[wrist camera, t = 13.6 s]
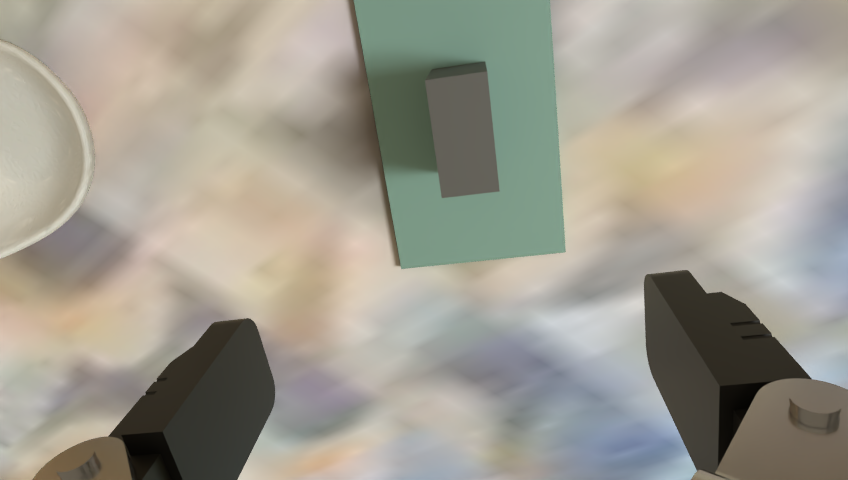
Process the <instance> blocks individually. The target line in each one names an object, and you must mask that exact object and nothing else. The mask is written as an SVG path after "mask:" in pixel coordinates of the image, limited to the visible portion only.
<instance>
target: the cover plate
mask: <svg viewBox="0 0 848 480" xmlns="http://www.w3.org/2000/svg"><path fill="white" fill-rule="evenodd" d="M354 5H355V11H356V16H357V22H358V27H359V33H360V39H361V44H362V50H363V56H364V61H365V67H366V73H367V78H368V84H369V89H370V95H371V101H372V106H373V112H374V118H375V123H376V129H377V135H378V140H379V146H380V151H381V157H382V163H383V168H384V174H385V180H386V185H387V191H388V197H389V202H390V208H391V213H392V219H393V225H394V230H395V236H396V242H397V247H398V253H399V259H400V264H401V269H405V268H415V267H425V266H435V265H445V264H455V263H465V262H474V261H484V260H494V259H504V258H514V257H524V256H534V255H543V254H553V253H563V252H566V251H565V235H564V219H563V203H562V187H561V171H560V155H559V139H558V123H557V107H556V91H555V75H554V59H553V43H552V27H551V11H550V0H354Z"/></svg>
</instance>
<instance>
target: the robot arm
mask: <svg viewBox="0 0 848 480" xmlns="http://www.w3.org/2000/svg"><path fill="white" fill-rule="evenodd" d="M644 300H645V330H646V350H647V357H648V362H649V366H650V370H651V373H652V376H653V378H654V380H655V382H656V385H657V387H658V389H659V391H660V393H661V395H662V397H663V399H664V402H665V404H666V406H667V408H668V410H669V412H670V414H671V416H672V419H673V421H674V423H675V425H676V427H677V429H678V431H679V433H680V436H681V438H682V440H683V442H684V444H685V446H686V448H687V450H688V453H689V455H690V457H691V459H692V461H693V463H694V465H695V467H696V470H697V472H696V473H695V474H694V476H693V477H692V479H691V480H848V390H847V389H845V388H842V387H840V386H837V385H834V384H831V383H827V382H823V381H818V380H812V379H811V378H810V376H809V375H808V374H807V373H806V372H805V371H804V370H803V369H802V367H801V366H800V365H799V364H798V363H797V362H796V361H795V360H794V358H793V357H792V356H791V355H790V354H789V353H788V352H787V351H786V349H785V348H784V347H783V346H782V345H781V344H780V343H779V342H778V340H777V339H776V338H775V337H772V335H771V333H770V331H769V330H768V329H767V328H766V327H765V326H764V325H763V324H760V320H759V319H758V318H757V317H756V316H755V315H754V313H753V312H752V311H751V310H750V309H749V308H748V307H747V306H746V304H744V303H742V302H740V301H738V300H736V299H734V298H732V297H730V296H728V295H726V294H724V293H722V292H717V293H708V294H707V293H706V292H705V291H704V290H703V288H702V287H701V286H700V284H699V283H698V282H697V281H696V279H695V278H694V277H693V276H692V274H691V273H690V272H689V271H688V270H682V271H674V272H665V273H656V274H647V275H646V276H645V280H644ZM274 400H275V385H274V380H273V376H272V373H271V370H270V367H269V364H268V360H267V357H266V354H265V351H264V348H263V345H262V341H261V338H260V335H259V332H258V329H257V326H256V324H255V323H254V321H252V320H251V319H249V318H247V319H238V320H229V321H220V322H214V323H213V324H212V325H211V326H210V327H209V328H208V329H207V330H206V332H205V333H204V334H203V335H202V337H201V338H200V339H199V340H198V342H197V343H196V344H195V345H194V346H193V347H192V348H190V349H189V350H187V351H186V352H185V353H183V354H182V355H180V356H179V357H178V358H176V359H175V360H173V361H172V362H171V363H170V364H169V365H168V366H167V367H166V369H165V370H164V371H163V372H162V373H161V375H160V376H159V377H158V378H157V382H154V383H153V384H152V385H151V386H150V388H149V389H148V390H147V391H146V395H145V396H142V397H141V398H140V399H139V401H138V402H137V403H136V404H135V405H134V407H133V408H132V409H131V410H130V411H129V412H128V414H127V415H126V416H125V417H124V418H123V420H122V421H121V422H120V423H119V424H118V425H117V427H116V428H115V429H114V430H113V431H112V433H111V434H110V435H109V436H108V437H99V438H95V439H91V440H88V441H85V442H82V443H80V444H77V445H75V446H73V447H71V448H69V449H67V450H65V451H64V452H62V453H60V454H59V455H57V456H56V457H54V458H53V459H52V460H51V461H49V462H48V463H47V464H46V465H45V466H44V467H43V468H41V470H40V471H39V472H38V473H37V474H36V476H35V477H34V479H33V480H237V479H238V477H239V475H240V473H241V471H242V469H243V467H244V465H245V463H246V461H247V459H248V457H249V455H250V453H251V451H252V449H253V447H254V445H255V443H256V441H257V439H258V437H259V435H260V433H261V431H262V429H263V427H264V425H265V423H266V421H267V419H268V417H269V415H270V413H271V411H272V408H273V405H274Z"/></svg>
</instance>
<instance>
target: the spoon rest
mask: <svg viewBox="0 0 848 480" xmlns="http://www.w3.org/2000/svg"><path fill="white" fill-rule="evenodd" d="M94 166H95V151H94V143H93V138H92V133H91V130H90V127H89V124H88V121H87V118H86V116H85V114H84V112H83V110H82V108H81V106H80V104H79V103H78V101H77V99H76V98H75V97H74V95H73V94H72V92H71V91H70V90H69V89H68V88H67V87H66V85H65V84H64V83H63V82H62V81H61V80H60V79H59V78H58V77H57V76H56V75H55V74H54V73H53V72H52V71H51V70H50V69H49V68H48V67H47V66H46V65H44V64H43V63H42V62H41V61H40V60H38V59H37V58H35V57H34V56H32V55H31V54H29V53H28V52H26V51H25V50H23V49H21V48H20V47H18V46H16V45H13V44H11V43H9V42H7V41H4V40H1V39H0V259H1V258H4V257H6V256H9V255H11V254H13V253H15V252H18V251H20V250H22V249H24V248H26V247H28V246H30V245H32V244H34V243H36V242H38V241H40V240H41V239H43V238H45V237H46V236H48V235H49V234H51V233H53V232H54V231H55V230H57V229H58V228H59V227H61V226H62V225H63V224H64V223H65V222H67V221H68V220H69V219H70V218H71V217H72V215H73V214H74V213H75V212H76V211H77V210H78V208H79V207H80V206H81V204H82V203H83V201H84V199H85V197H86V195H87V193H88V191H89V188H90V185H91V183H92V179H93V174H94Z"/></svg>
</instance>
